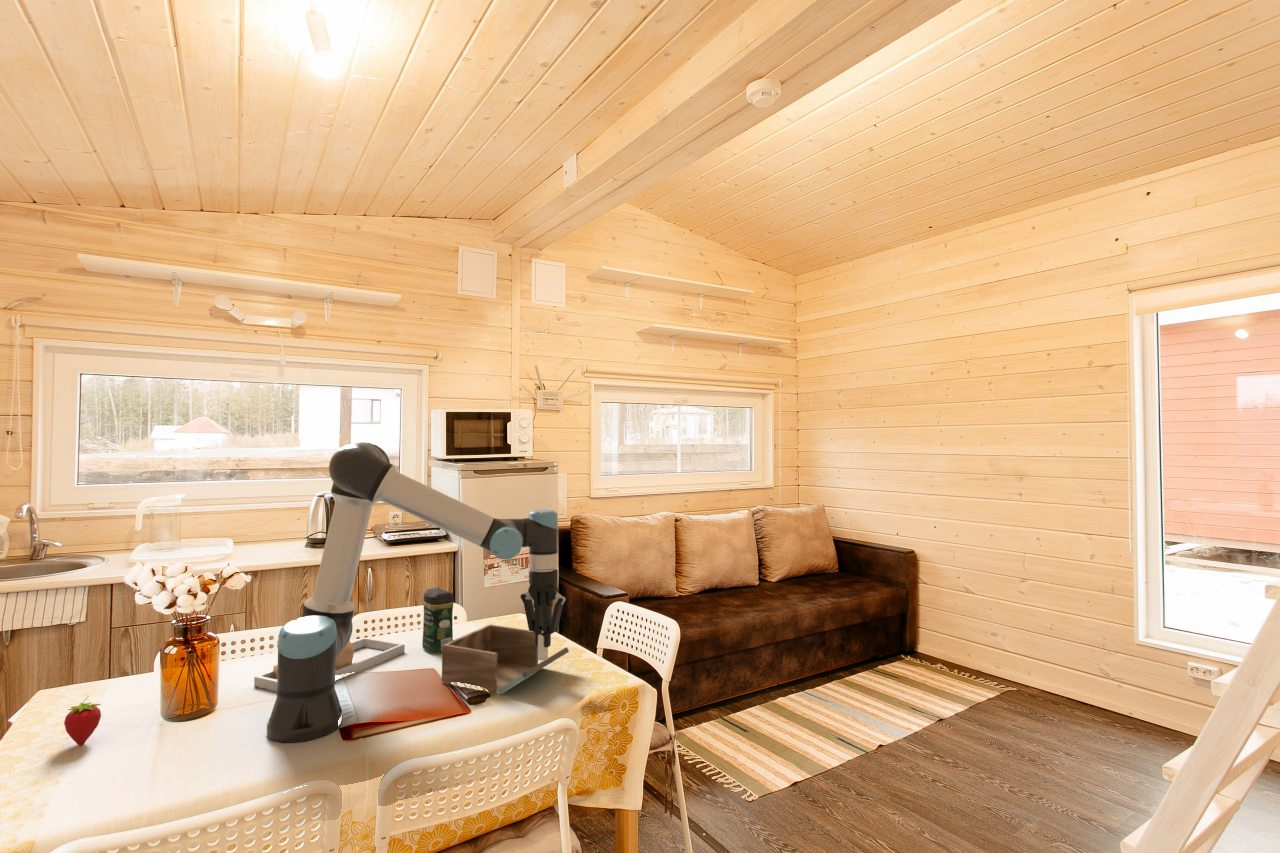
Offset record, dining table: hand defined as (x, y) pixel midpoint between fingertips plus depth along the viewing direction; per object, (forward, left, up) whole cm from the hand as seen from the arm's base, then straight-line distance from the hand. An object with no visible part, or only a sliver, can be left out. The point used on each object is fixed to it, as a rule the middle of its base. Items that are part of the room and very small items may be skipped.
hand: (542, 658), depth 171 cm
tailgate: (0, +6, -7) cm, 9 cm away
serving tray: (-12, +60, -8) cm, 62 cm away
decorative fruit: (-67, +71, -8) cm, 98 cm away
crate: (0, +15, -8) cm, 17 cm away
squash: (-18, +61, -8) cm, 64 cm away
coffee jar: (+13, +45, -8) cm, 48 cm away
